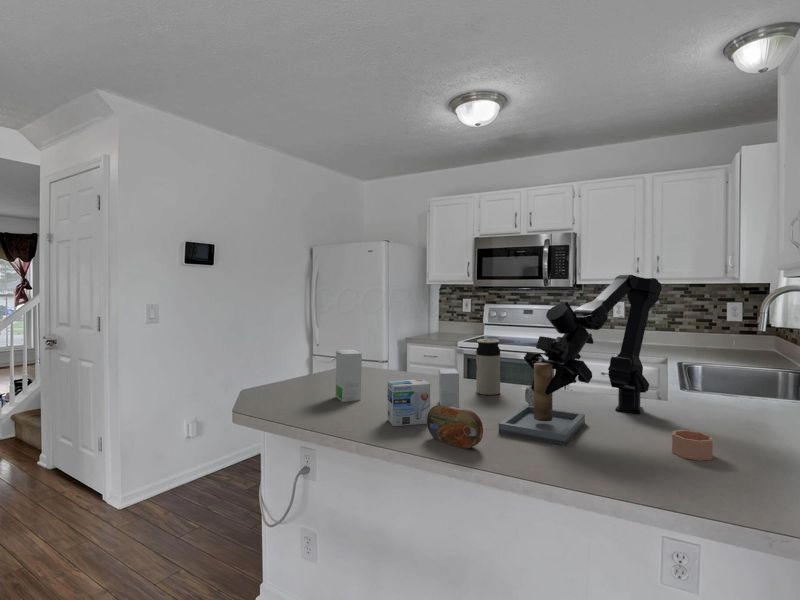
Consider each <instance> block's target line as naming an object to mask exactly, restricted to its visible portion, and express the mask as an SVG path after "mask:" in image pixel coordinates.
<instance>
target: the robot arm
mask: <svg viewBox="0 0 800 600" xmlns="http://www.w3.org/2000/svg"><path fill="white" fill-rule="evenodd" d="M662 289H663V288H662V284H661V282H659V279H657V278H656V277H650V278H649V277H647V278H646V277H641V276H640V277H639V276H638V275H634V274H619V275H617V276H616V277H615V278H614V280H613V282H611V283H610V284H609V285H608V286H607V287H606V288H605V289H604V290H603V291H602V292H601V293H600V294H598V295H597V296H596V298H595V299H593V300H592V301H590V302H587V303H584V304H582V305H580V306H579V307H577V308H576V309H575V310H573V309H572V307H571V304H570V303H569V302H568V301H560V303H559V304H556V305H554V306H553V307H551V308H549V309H548V310H547V312H546V313H545V314H546V318H547V320H548V322H550V324H551V325H552V327H553V328H554V329H555V330H556V332H557V333H558V334H561V335H562V336H557V337H556V338H553V337H549V336H543V335H540V336H538V340H537V342H536V345H535V348H536V349H537V350H540V351H542V352H544V353H543V355H544V356H545V357H546V359H545V358H544V356H542V354H541V353H539V352H533V351H528V352H526V354H525V355H524V357H523V359H524V361H525V362H526V364H527V365H529V367H530V368H531V369H532V371H534V364H535V363H549V364H552V365H553V370H555V371H554V374H553V378H552V380H551V382H550V383H549V385H548V387H547V389H546V391H545V393H546V394H547V395H549V394H551V393H552V394H553V393H555V392H556V391H558V390H560V389H563V388H564V387H567V386H569V385H571V384H576V382H577V380H578V381H579V382H581V383H586V384H589V383H590V381H591V380H592V378H593V372H592V370H590V368H589V366H588V365H587V364H586V363H585V362H584V360H580V359H581V357H582V355H580V352H581V351H582V350H583V348H584V346H585V345H586V344H588V345H593V344H594V338H593V334H592V333H589V331H588V330H592V331H593V330H594V331H598V330H601V329H603V326H604V325H605V324H606V322H607V320H608V319H609V317H608V316H609V312H611V310H612V309H613V308H614V307H615V306H616V305H618V303H619V302H620V301H621V300H622V299H623V298H624V297H625V296H626V298H627V299H628V302H629V304H630V306H629V307H630V308H629V311H628V317H627V320H626V325H625V329H624V335H623V338H622V343H621V348H620V351H619V353H618V354H617V355H616V356H613V355H612V356H611V357H610V361H609V365H608V368H607V370H608V378H609V382H610V385H611V388H617V389H618V403H617V406H616V407H615V411H616V412H622V413H623V412H624V413H629V414H630V413H631V414H638V415H640V414H642V412H643V410H644V407H642V406H641V393H643V394H644V393H647V392H648V391H649V388H650V383H649V381H648V380H647V379H646V378H645V376H644V374H643V371H644V367H643V364H642V361H641V359H640V354H641V350H642V346H643V340H644V335H645V331H646V327H647V322H648V317H649V313H650V309H651V308H653V306H654V305H655V304H656V303H657V302H658V301H659V298H660V295H661V292H662ZM576 379H577V380H576ZM531 386H532V387H531V389H532V390H533V391H534V377H533V379H532V383H531Z"/></svg>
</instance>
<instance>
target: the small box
mask: <svg viewBox="0 0 800 600" xmlns="http://www.w3.org/2000/svg"><path fill="white" fill-rule="evenodd" d="M438 403H439V406H440V405H447V406H451V407H456V408H460V373H459V371H458V370H457V368H439V369H438Z"/></svg>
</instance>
